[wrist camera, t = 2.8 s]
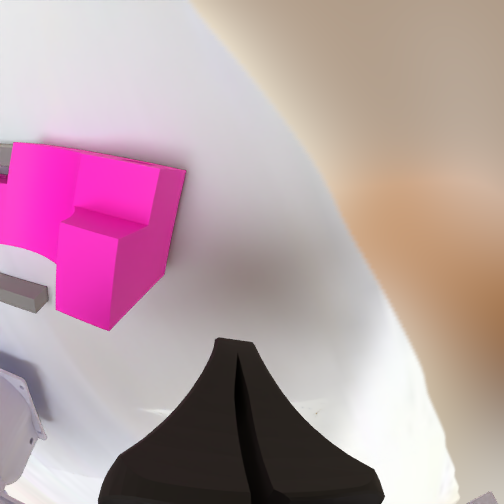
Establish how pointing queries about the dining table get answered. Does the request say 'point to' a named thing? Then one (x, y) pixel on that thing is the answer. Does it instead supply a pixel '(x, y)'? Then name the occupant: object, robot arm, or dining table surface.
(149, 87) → the dining table surface
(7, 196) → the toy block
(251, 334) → the dining table surface
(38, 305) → the channel
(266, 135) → the dining table surface
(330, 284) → the dining table surface
